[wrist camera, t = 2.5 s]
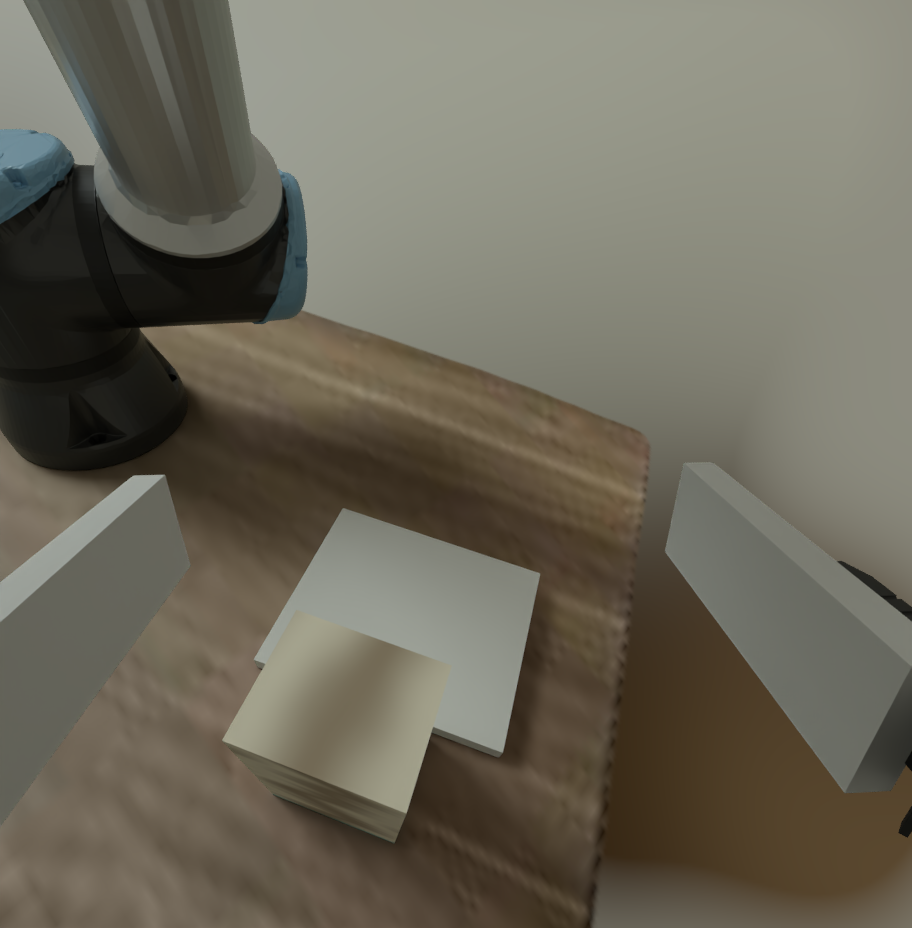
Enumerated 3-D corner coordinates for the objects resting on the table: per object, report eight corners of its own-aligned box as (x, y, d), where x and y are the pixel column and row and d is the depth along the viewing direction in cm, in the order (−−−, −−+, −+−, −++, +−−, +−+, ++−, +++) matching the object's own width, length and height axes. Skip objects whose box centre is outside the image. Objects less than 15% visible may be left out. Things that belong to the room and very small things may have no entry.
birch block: (273, 794, 30) (222, 740, 20) (319, 697, 34) (296, 609, 24) (394, 843, 30) (406, 813, 19) (426, 737, 34) (451, 665, 23)
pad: (257, 667, 35) (253, 659, 34) (343, 517, 44) (343, 507, 43) (498, 757, 33) (502, 752, 32) (535, 582, 42) (540, 573, 41)
